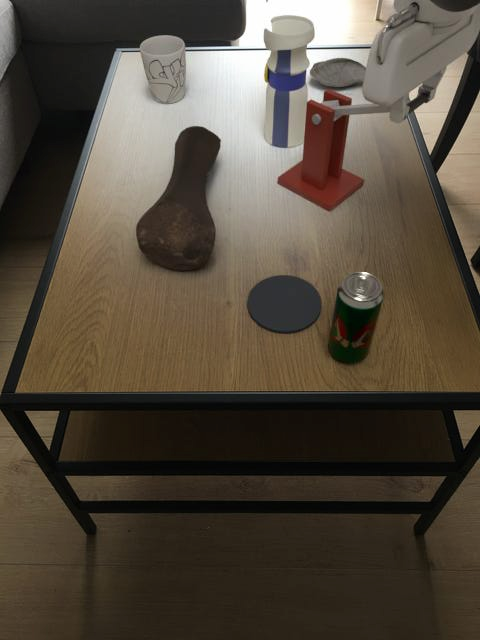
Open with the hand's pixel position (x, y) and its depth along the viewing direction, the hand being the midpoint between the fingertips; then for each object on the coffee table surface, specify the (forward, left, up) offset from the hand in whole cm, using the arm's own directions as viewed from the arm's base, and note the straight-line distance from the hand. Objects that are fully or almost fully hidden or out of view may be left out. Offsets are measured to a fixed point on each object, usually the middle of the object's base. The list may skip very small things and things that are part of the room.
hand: (411, 109), depth 69 cm
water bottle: (+19, -20, -18) cm, 33 cm away
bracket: (+11, -7, -18) cm, 22 cm away
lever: (+5, -3, -4) cm, 7 cm away
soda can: (+4, +26, -18) cm, 32 cm away
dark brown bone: (+31, +4, -18) cm, 36 cm away
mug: (+44, -32, -18) cm, 57 cm away
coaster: (+13, +20, -18) cm, 30 cm away
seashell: (+11, -41, -18) cm, 46 cm away
